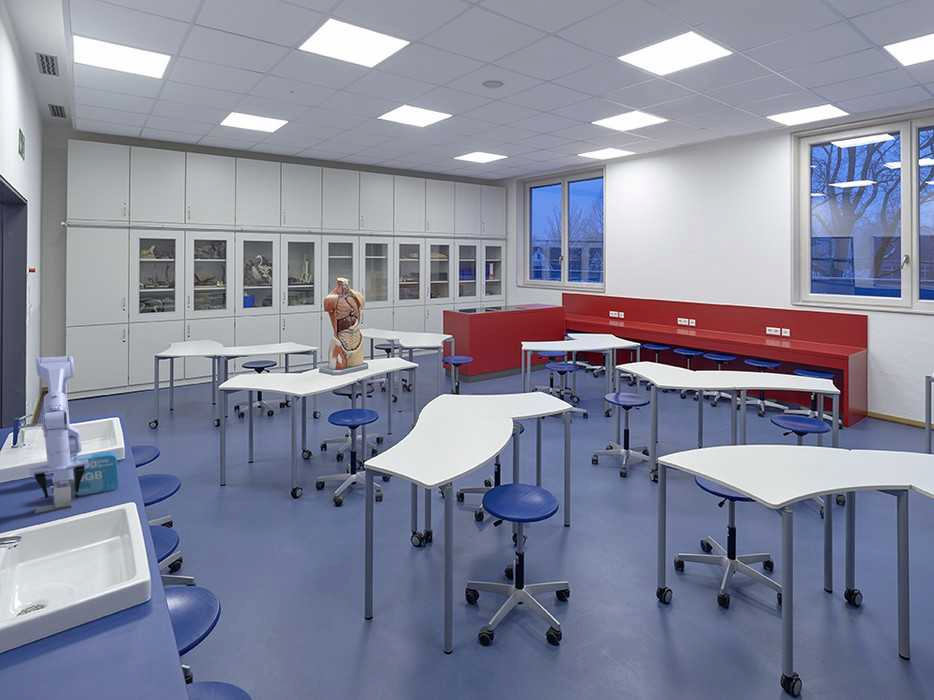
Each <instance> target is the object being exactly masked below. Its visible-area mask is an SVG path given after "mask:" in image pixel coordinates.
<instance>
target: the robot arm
mask: <svg viewBox="0 0 934 700" xmlns="http://www.w3.org/2000/svg"><path fill="white" fill-rule="evenodd" d="M74 362H75V361H74V357H73V356H72V355H65V356H49V357H48V356H47V357H40V356H39V357H37V359H36V364H35V365H36V371H37V373H36V374H37V376H38V377H39V379H41V381H46V383H47V391H48V393H46V394H45V395H44V396H43V414H41V419H40V422H41V429H42V433H43V437H44V438H45V450H46V451H45V452H46V461H47V464H45V465H41V466H38V467H32V468H31V467H30V468H29V476H30V477H34V479H35V480H36V482H37V483H38V484H39V486H40V487H41V490H42V491H43V493H44V498H45V499H48V498H49V494H48V493H49V492H48V487H47V478H46V474H51V473H53V476H52V477H51V481H52V484H53V485H54V482H58V481H64V480H69V479H73V481H74V477H73V469H74V475H75V491H76V492H79V485H80V481H81V478H82V476H83V474H84V472H85V468H84V467H89V466H88V460H87V459H86V460H77V461H73V459H74V458H75V457H77V456H79V453H80V454H81V452H82V451H83V449H82V448H83V446H82V438H81V437H82V435H81V432H80V429H78V428H76V427H74V426H72V425H70V424H71V423H70V415H69V414H70V413H69V403H68V402H69V401H68V391H67V383H68V380H70V379H73V378H74V376H75V363H74Z"/></svg>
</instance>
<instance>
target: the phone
mask: <svg viewBox="0 0 934 700" xmlns="http://www.w3.org/2000/svg"><path fill="white" fill-rule="evenodd" d="M67 508H68V509H72V505H71V506H65V507H59V508H55V504H54V503H53V504H51V505H50V504H49V505H43V506H39V507H35V508H34V515H35V516H37V515H41V514H46V513H52V512H56V511H61V510H62V509H63V510H68V509H67Z"/></svg>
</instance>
